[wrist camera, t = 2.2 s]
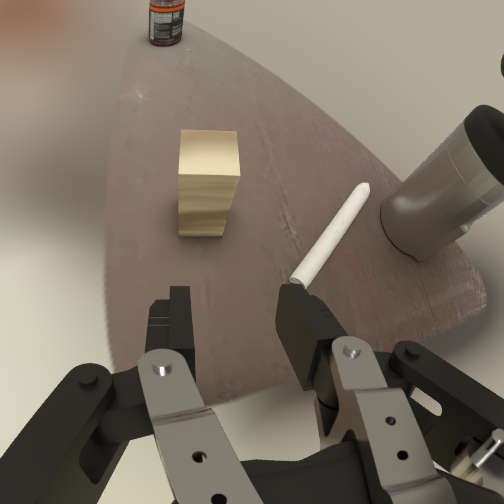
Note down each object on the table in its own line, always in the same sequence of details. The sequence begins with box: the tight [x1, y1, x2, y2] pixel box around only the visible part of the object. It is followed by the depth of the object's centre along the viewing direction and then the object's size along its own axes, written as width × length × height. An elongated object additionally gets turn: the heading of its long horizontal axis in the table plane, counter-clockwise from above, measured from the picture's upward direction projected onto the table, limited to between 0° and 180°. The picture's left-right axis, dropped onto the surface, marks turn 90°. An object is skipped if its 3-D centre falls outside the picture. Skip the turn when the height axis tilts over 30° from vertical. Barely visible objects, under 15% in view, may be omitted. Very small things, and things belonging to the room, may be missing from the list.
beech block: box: [178, 130, 240, 237], centre depth 28 cm, size 4×4×11 cm
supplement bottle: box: [149, 0, 185, 46], centre depth 40 cm, size 6×6×11 cm
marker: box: [289, 183, 370, 289], centre depth 35 cm, size 18×2×2 cm, turn 142°
